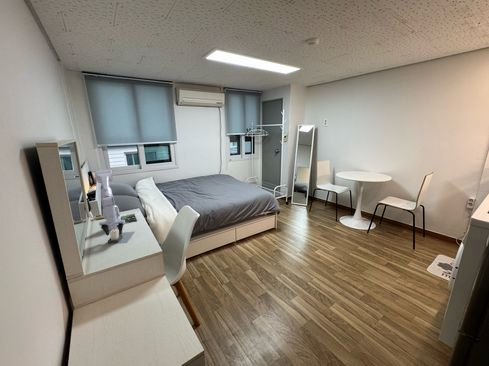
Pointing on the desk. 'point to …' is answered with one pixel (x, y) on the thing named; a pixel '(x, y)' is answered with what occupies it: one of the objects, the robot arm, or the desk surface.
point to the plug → (114, 234)
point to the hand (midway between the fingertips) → (114, 234)
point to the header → (115, 240)
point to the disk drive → (129, 218)
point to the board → (125, 237)
